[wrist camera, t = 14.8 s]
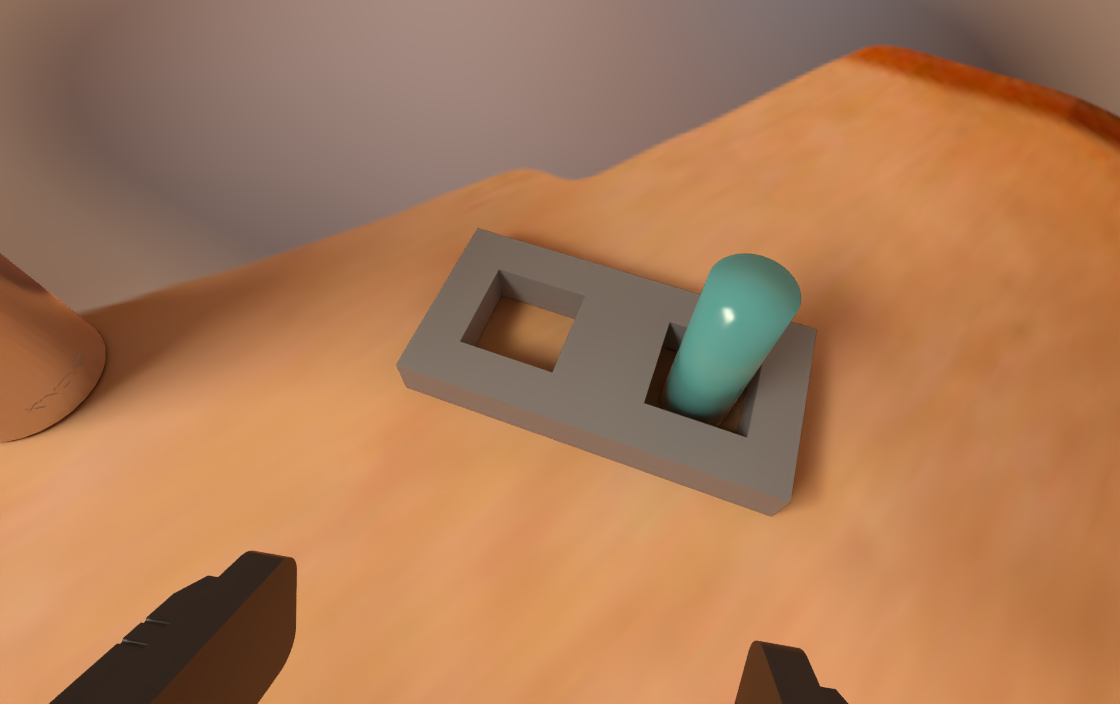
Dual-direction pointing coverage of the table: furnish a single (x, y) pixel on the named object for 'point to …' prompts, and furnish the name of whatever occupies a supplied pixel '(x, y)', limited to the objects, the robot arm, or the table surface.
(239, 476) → the table surface
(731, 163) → the table surface
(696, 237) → the table surface
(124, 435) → the table surface
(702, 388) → the teal round-top peg
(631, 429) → the rack
